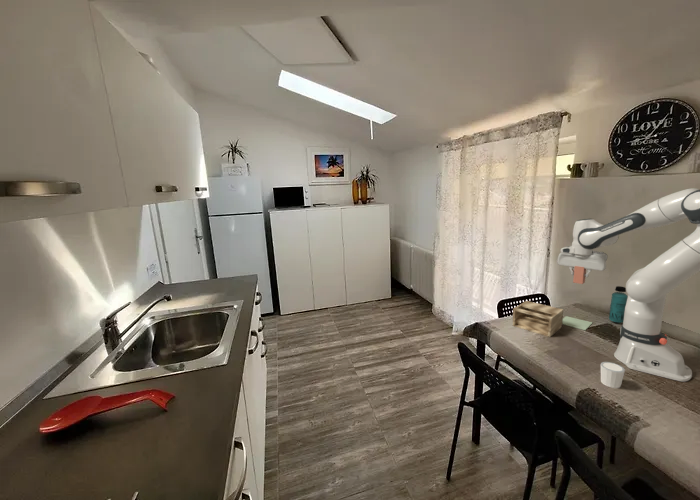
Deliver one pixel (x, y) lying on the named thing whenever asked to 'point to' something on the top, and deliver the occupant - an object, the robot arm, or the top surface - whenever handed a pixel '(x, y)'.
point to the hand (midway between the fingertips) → (579, 275)
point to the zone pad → (576, 323)
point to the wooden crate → (538, 318)
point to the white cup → (612, 374)
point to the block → (579, 275)
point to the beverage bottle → (618, 305)
